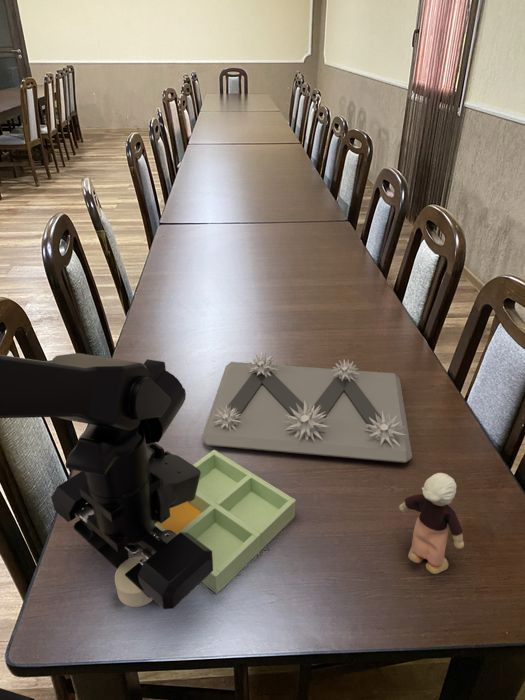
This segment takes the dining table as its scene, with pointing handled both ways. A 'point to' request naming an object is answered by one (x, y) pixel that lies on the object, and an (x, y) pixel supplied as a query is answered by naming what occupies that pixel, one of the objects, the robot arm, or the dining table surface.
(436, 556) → the grandmother figurine
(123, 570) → the cylinder
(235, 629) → the dining table surface
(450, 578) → the dining table surface
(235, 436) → the decorative plate
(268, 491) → the grid
